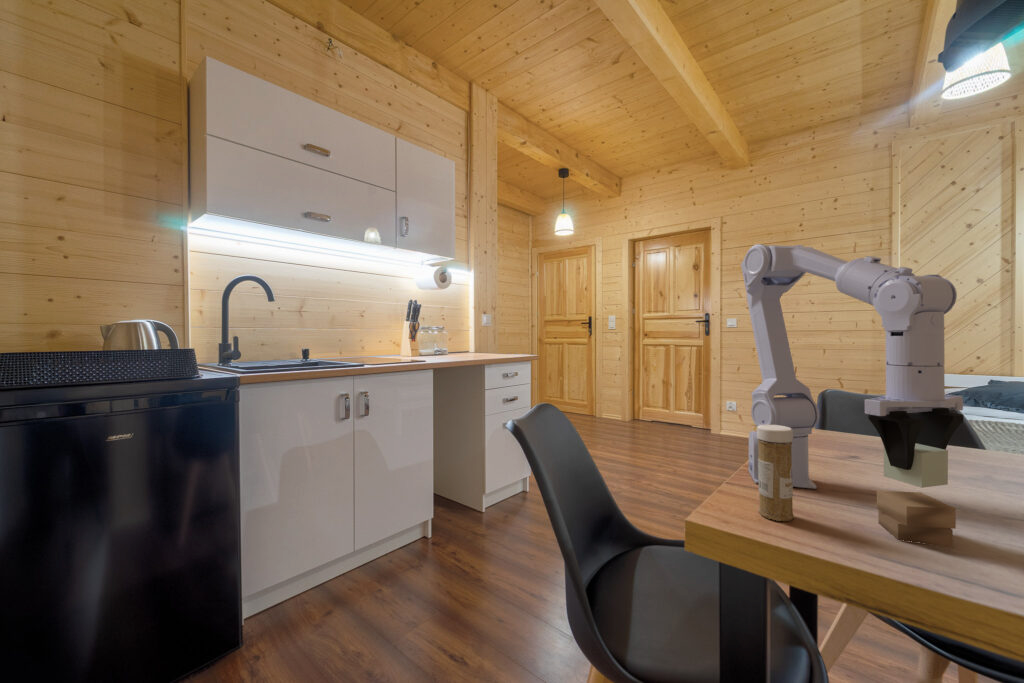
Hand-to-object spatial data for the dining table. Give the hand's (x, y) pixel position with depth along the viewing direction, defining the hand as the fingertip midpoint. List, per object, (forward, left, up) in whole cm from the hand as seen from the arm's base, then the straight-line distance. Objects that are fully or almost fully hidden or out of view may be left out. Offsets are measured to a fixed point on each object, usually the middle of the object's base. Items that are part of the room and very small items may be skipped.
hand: (914, 466), depth 57 cm
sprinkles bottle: (-16, +1, -10) cm, 19 cm away
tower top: (0, 0, -7) cm, 7 cm away
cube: (0, 0, -2) cm, 2 cm away
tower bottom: (0, 0, -10) cm, 10 cm away
